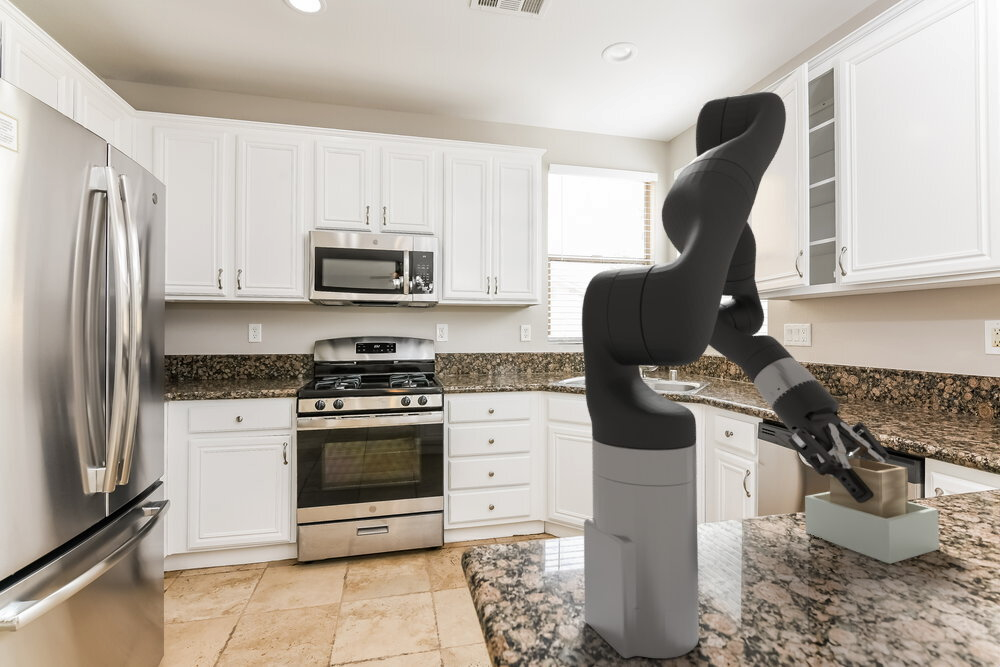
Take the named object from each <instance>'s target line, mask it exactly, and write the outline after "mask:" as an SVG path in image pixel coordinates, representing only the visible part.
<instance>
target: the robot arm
mask: <svg viewBox="0 0 1000 667" xmlns="http://www.w3.org/2000/svg"><path fill="white" fill-rule="evenodd" d="M786 120H787V113H786V106H785V103H784V101H783V99H782V97H781V96H779V95H778V94H777V93H775V92H772V91H757V92H752V93H744V94H737V95H731V96H724V97H718V98H711V99H709V100H707V101H705V103H704V104H702V106H701V108H700V111H699V112H698V116H697V121H696V128H695V150H696V158H694V159H693V160H691V162H689V163H688V164H687V165H686V166H685V167H684V168H683V170H682V171H681V172H680V173H679V175H678V176H677V178H676V179H675V181H674V182H673V184H672V186H671V187H670V189H669V191H668V193H667V195H666V197H665V199H664V201H663V205H662V209H661V221H662V227H663V230H664V231H665V234H666V236H667V238H668V240H669V241H670V243H671V244H672V246H673V248H675V249H676V251H678V253H679V254H680V255H679V256H678V257H677V258H675V259H673V260H671V261H669V262H666V263H658V264H649V265H648V264H647V265H640V266H631V267H623V268H622V267H621V268H615V269H614V268H613V269H609V270H608V269H607V270H605V271H604V270H603V271H600V272H598V273H597V274H595V275H594V276H593V277H592V278H591V279H590V281H589V283H588V285H587V287H586V289H585V292H584V296H583V301H582V307H581V308H582V309H581V310H582V311H581V331H582V332H581V333H582V335H581V336H582V338H581V339H582V349H583V361H584V362H583V364H584V365H583V366H584V380H585V381H584V382H585V400H586V407H587V410H588V413H589V415H588V416H589V417H590V422H591V437H592V439H591V440H592V448H591V449H592V450H591V451H592V457H591V458H592V517H591V518H586V519H584V522H583V550H584V551H583V553H584V554H583V557H584V558H583V559H584V560H583V561H584V565H583V566H584V567H583V568H584V571H583V572H584V573H583V574H584V576H583V577H584V578H583V579H584V621H585V622H586V624H587V625H589V627H591V628H592V630H594V631H595V632H596V633H597V634H598V635H599V636H600V637H601V638H602V639H604V640H605V642H606V643H608V645H610V646H611V647H612V648H613V650H615V651H616V653H617V654H619V656H621V657H622V658H623V659H630V658H632V657H643V658H644V657H645V658H648V659H649V658H650V659H669V658H671V659H672V658H679V657H680V656H684V655H686V654H688V653H690V652H691V651H693V650H694V649H695V647H697V645H698V642H699V639H700V631H699V630H700V626H699V624H700V623H699V621H700V620H699V618H700V617H699V616H700V615H699V612H700V611H699V562H698V561H699V557H698V556H699V553H698V551H699V550H698V549H699V548H698V547H699V546H698V545H699V544H698V541H699V540H698V486H697V485H698V481H697V479H698V477H697V476H698V474H697V472H698V470H697V469H698V468H697V457H698V456H697V423H696V417H695V413H693V411H691V410H690V409H689V408H688V407H686V406H685V405H682V404H681V403H678V402H676V401H673V400H671V399H668V398H667V397H665V396H662V394H660V393H658V392H656V391H655V390H654V389H652V387H650V386H649V385H648V384H647V383H646V382H645V380H643V378H642V376H641V371H640V367H639V366H643V367H644V366H645V367H681V366H687V365H691V364H694V363H696V362H697V361H698V360H699V359H701V357H702V356H703V355H704V353H705V351H706V350H707V348H708V346H710V348H712V349H714V350H715V351H716V352H718V353H719V354H721V355H722V356H723V357H725V358H726V359H728V360H729V361H730V362H732V363H733V364H735V365H737V366H738V367H739V369H741V370H742V372H743V373H744V374H745V375H746V376H747V378H748V379H749V380H750V381H751V382H752V384H753V385H754V386H755V388H756V390H757V391H758V393H759V394H760V396H761V397H762V398H763V400H764V402H766V403H767V405H768V406H769V407H770V408H771V410H772V411H773V412H774V413H775V415H776V416H777V417H778V418H779V419H780V420H781V422H782V423H783V424H784V426H785V427H786V428H787V429H788V430H789V431H790V432H791V433H792V434H793V435H791V436H790V437H789V438H788V443H789V445H791V446H792V447H793V448H794V449H795V450H796V451H797V452H798V454H800V456H801V457H803V458H804V460H805V461H806V462H808V464H809V465H810V466H811V467H812V468H813V469H814V470H815V471H816V472H817V473H818V474H819V475H821V476H825V475H829V477H830V476H832V477H833V478H837V479H838V480H839V481H840V482H841V484H842V485H843V486H844V487H845V488H846V490H847V491H848V492H849V493H850V495H851V496H852V497H853V498H854V499H855V500H856V501H857V502H858V503H864V502H866V501H867V500H869V499H870V498H872V497H873V492H872V491H871V490H870V489H869V487H868V486H867V485H866V484H865V483H864V482H863V481H862V479H861V478H860V477H859V476H858V475H857V474H856V472H855V471H854V470H853V469H850V465H849V463H848V461H847V459H852V458H862V459H867V460H872V461H877V462H881V463H886V460H887V459H889V458H890V455H889V453H888V452H887V451H886V449H885V448H884V447H883V446H882V444H880V442H879V441H878V440H877V438H876V437H875V435H874V434H873V433H872V432H871V431H870V430H869V429H868V428H867V426H866V425H865V424H864V423H863V422H861V421H860V422H859V421H858V422H856V424H854V425H850V424H849V423H848V422H846V421H845V420H843V419H842V418H841V417H839V415H838V411H839V408H840V403H839V402H838V401H837V400H836V399H835V397H833V395H831V393H830V392H829V391H828V390H827V389H826V388H825V387H824V386H823V384H821V383H820V381H818V379H817V378H815V376H814V375H813V374H812V373H811V372H810V371H809V370H808V369H807V368H806V367H805V366H803V365H802V364H801V363H800V362H799V361H798V360H796V359H795V358H794V356H792V354H791V353H790V352H789V351H788V350H787V349H786V347H784V346H783V345H782V344H781V342H779V341H778V340H777V339H776V338H775V337H774V336H770V335H768V334H767V335H766V334H764V335H763V334H762V335H761V334H759V335H756V334H758V333H759V331H760V330H761V329H762V327H763V325H764V321H765V313H764V309H763V305H762V301H761V299H760V295H759V291H758V287H757V283H756V280H755V278H756V262H757V261H756V260H757V258H756V257H757V243H756V237H755V235H754V232H753V230H752V227H751V226H750V224H749V223H748V221H749V217H750V215H751V212H752V209H753V206H754V205H755V200H756V198H757V194H758V192H759V188H760V185H761V183H762V182H761V181H762V179H763V176H764V175H765V173H766V171H767V169H768V168H769V167H770V165H771V163H772V161H773V160H774V158H775V157H776V154H777V153H778V151H779V148H780V145H781V143H782V141H783V137H784V134H785V130H786V129H785V128H786V122H787V121H786ZM723 296H725V297H731V299H729V300H726V301H723V302H721V301H722V297H723ZM872 448H873V449H874V450H873V449H872ZM816 456H817V458H818V460H817V458H816ZM861 456H863V457H861ZM837 461H838V462H837ZM849 469H850V470H849Z"/></svg>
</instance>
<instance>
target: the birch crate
mask: <svg viewBox="0 0 1000 667" xmlns="http://www.w3.org/2000/svg"><path fill="white" fill-rule="evenodd" d="M862 458H863V457H861V458H852V459H847V461H848V463H849V465H850V469H853V470H854V471H855V472H856V474H857V475H858V476H859V477H860V478H861V479H862V481H863V482H864V483H865V484H866V485H867V486H868V487H869V489H870V490H871V491H872V492H873V497H872V498H870V499H869V500H867V501H866V502H864V503H858V502H857V501H856V500H855V499H854V498H853V497H852V496H851V495H850V493H849V492H848V491H847V490H846V488H845V487H844V486H843V485H842V484H841V482H840V481H839V480H838V479H837V478H833V477H832V476H830V475H829V492H830V502H831V503H835V504H838V505H842V506H845V507H848V508H852V509H855V510H858V511H862V512H865V513H869V514H872V515H875V516H879V517H882V518H886V519H887V518H891V517H896V516H900V515H904V514H908V502H909V474H908V473H909V470H908V469H909V468H908V467H905V466H901V465H896V464H890V463H886V462H885V463H881V462H877V461H872V460H867V459H865V458H863V459H862ZM836 461H837V460H836ZM837 462H838V461H837ZM850 469H849V470H850Z"/></svg>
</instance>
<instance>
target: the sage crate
mask: <svg viewBox="0 0 1000 667" xmlns="http://www.w3.org/2000/svg"><path fill="white" fill-rule="evenodd" d="M804 506H805V508H804V509H805V512H804V513H805V515H804V516H805V534H807V535H810V534H811V535H810V536H813V535H814V536H813V537H816V538H818V537H819V539H821V538H822V539H821V540H824V541H826V542H830V543H832V544H834V545H838V546H840V547H842V548H846V549H848V550H851V551H853V552H857V553H858V554H862V555H865V556H866V557H870V558H873V559H875V560H878V561H881V562H884V563H885V564H888V565H890V564H894V563H898V562H900V561H904V560H908V559H912V558H915V557H918V556H922V555H923V554H927V553H932V552H934V551H937V550H940V537H939V536H940V535H939V533H940V532H939V530H940V529H939V508H935V507H932V506H928V505H922V504H919V503H916V502H911V501H908V514H904V515H900V516H896V517H891V518H887V519H886V518H882V517H879V516H875V515H872V514H869V513H865V512H862V511H858V510H855V509H852V508H848V507H845V506H842V505H838V504H835V503H831V502H830V491H826V492H820V493H815V494H810V495H805V496H804Z"/></svg>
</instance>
